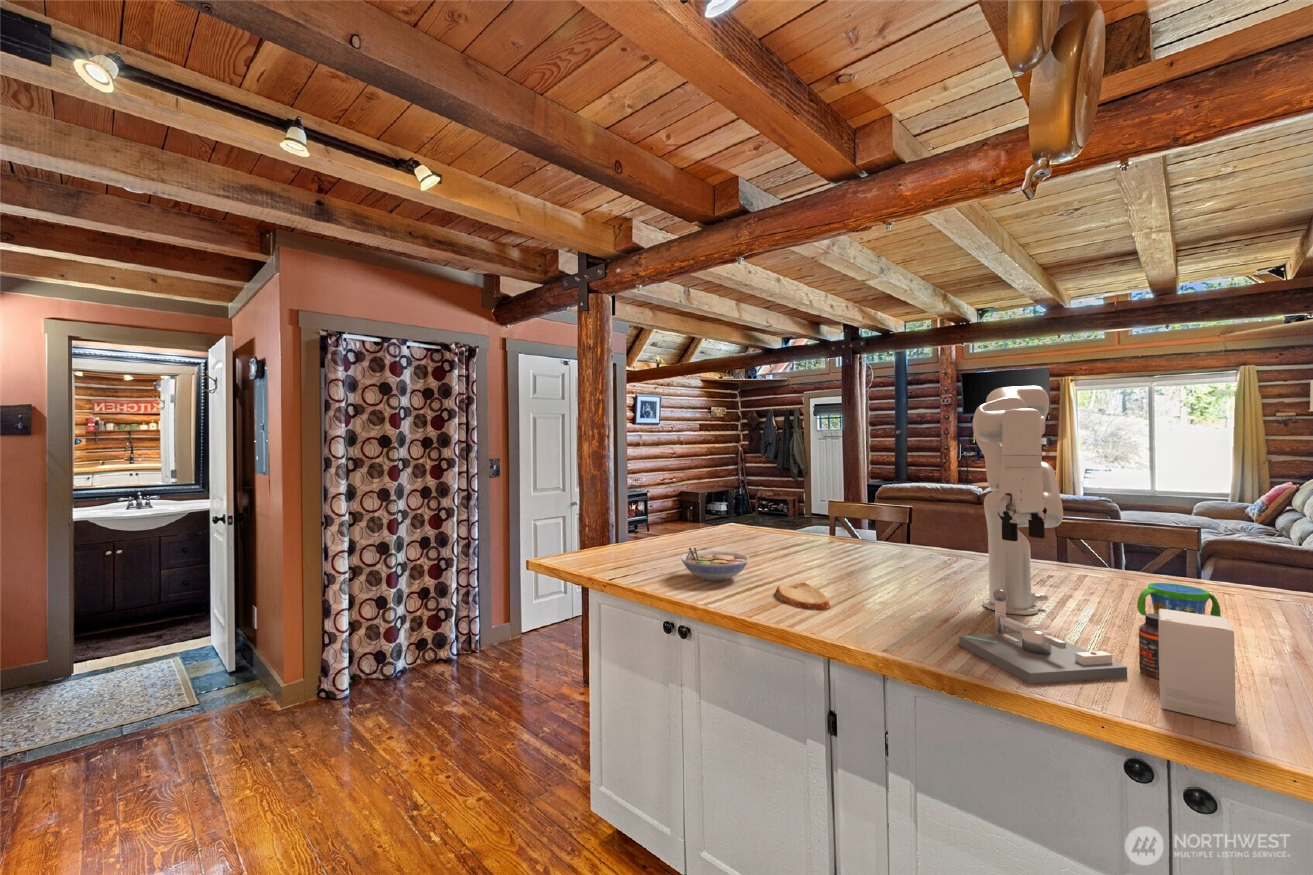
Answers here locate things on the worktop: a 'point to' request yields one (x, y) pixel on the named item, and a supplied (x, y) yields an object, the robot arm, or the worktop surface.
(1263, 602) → the worktop surface
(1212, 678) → the supplement box
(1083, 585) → the worktop surface
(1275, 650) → the worktop surface
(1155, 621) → the supplement bottle
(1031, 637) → the metal crank lever
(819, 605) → the bread slice
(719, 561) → the ramen bowl
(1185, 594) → the snack cup
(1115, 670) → the stand
